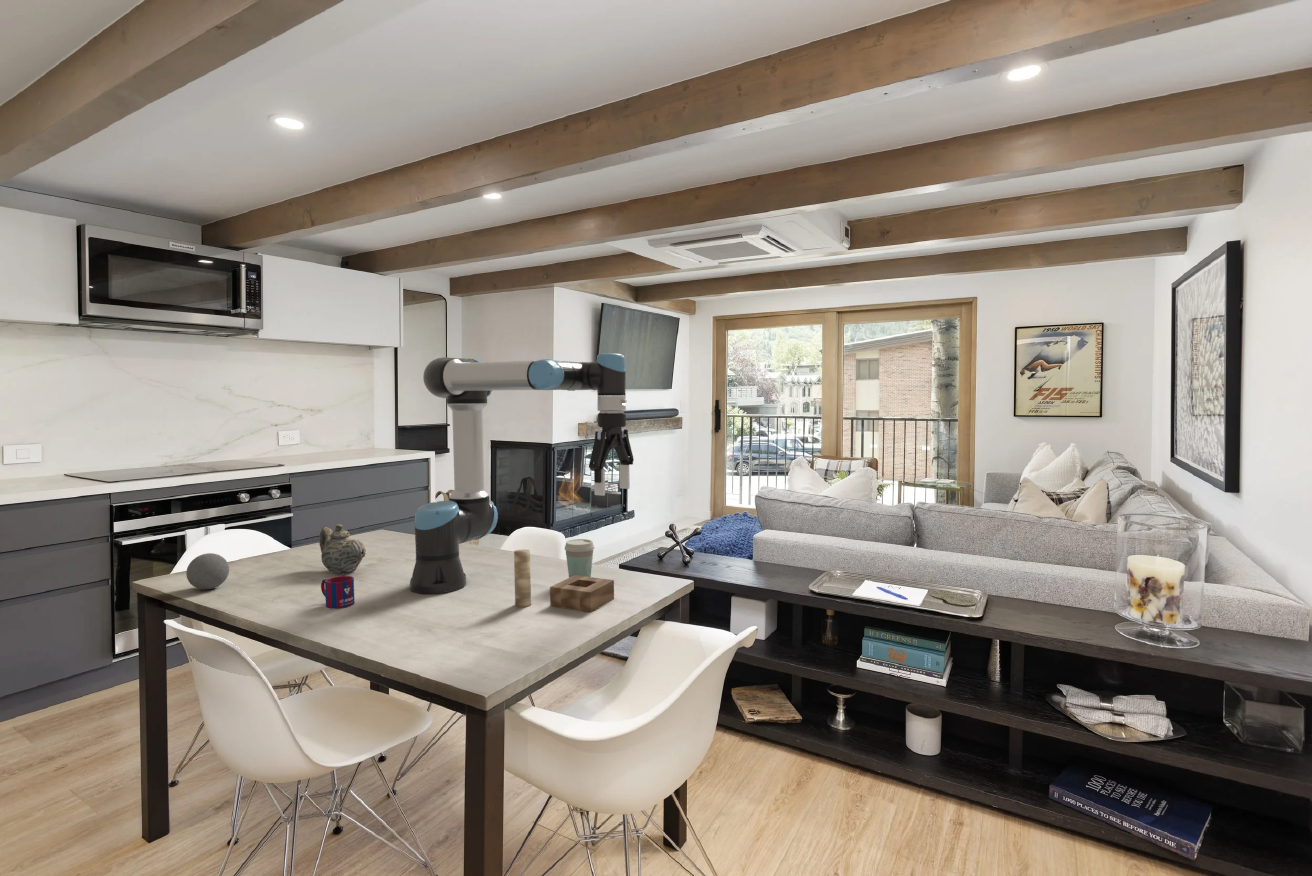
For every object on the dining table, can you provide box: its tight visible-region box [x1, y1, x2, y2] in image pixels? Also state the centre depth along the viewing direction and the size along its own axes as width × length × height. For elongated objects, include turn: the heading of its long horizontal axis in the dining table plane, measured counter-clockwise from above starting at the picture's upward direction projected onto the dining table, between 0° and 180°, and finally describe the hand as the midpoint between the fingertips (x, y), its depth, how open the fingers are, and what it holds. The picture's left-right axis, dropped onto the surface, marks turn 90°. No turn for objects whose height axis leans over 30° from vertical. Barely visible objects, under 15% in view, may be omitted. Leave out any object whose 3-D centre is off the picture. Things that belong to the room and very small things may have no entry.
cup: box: [320, 575, 355, 610], centre depth 172 cm, size 7×10×7 cm
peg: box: [513, 548, 532, 608], centre depth 170 cm, size 4×4×14 cm
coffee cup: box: [564, 538, 595, 578], centre depth 189 cm, size 9×9×12 cm
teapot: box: [318, 523, 367, 575], centre depth 203 cm, size 21×12×15 cm, turn 58°
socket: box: [549, 575, 615, 613], centre depth 172 cm, size 12×12×5 cm
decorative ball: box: [186, 552, 230, 591], centre depth 186 cm, size 10×10×10 cm
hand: (612, 491), depth 177 cm, fingers open, 13 cm apart
